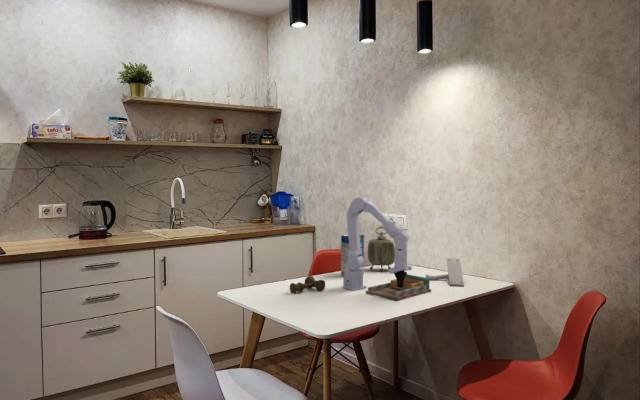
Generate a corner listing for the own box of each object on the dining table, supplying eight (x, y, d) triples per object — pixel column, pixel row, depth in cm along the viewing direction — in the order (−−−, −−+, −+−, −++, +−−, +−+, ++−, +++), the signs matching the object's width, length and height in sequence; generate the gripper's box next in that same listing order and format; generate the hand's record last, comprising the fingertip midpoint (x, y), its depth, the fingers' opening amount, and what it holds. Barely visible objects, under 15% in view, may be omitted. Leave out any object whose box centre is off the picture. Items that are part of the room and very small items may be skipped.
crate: (411, 291, 219) (411, 284, 219) (390, 286, 228) (390, 280, 228) (423, 288, 226) (424, 281, 226) (403, 283, 235) (403, 277, 235)
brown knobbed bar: (285, 292, 223) (318, 285, 236) (298, 297, 216) (331, 289, 229) (285, 280, 223) (318, 273, 235) (298, 284, 215) (331, 277, 228)
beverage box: (340, 275, 260) (341, 235, 258) (354, 273, 267) (354, 233, 266) (350, 277, 255) (350, 236, 254) (363, 274, 262) (364, 234, 261)
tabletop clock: (392, 269, 279) (392, 226, 278) (395, 272, 270) (396, 228, 269) (367, 269, 278) (367, 226, 277) (370, 272, 269) (370, 228, 268)
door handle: (462, 296, 239) (458, 270, 256) (463, 284, 235) (459, 258, 252) (426, 294, 242) (424, 268, 259) (427, 282, 238) (425, 256, 254)
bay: (396, 300, 207) (396, 287, 207) (365, 293, 221) (365, 280, 220) (431, 291, 225) (431, 278, 225) (400, 284, 238) (400, 273, 238)
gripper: (397, 260, 215) (397, 290, 216) (417, 257, 225) (416, 286, 225) (385, 258, 220) (385, 288, 221) (405, 255, 230) (404, 283, 231)
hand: (400, 287), depth 223 cm, fingers closed, pressing on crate
